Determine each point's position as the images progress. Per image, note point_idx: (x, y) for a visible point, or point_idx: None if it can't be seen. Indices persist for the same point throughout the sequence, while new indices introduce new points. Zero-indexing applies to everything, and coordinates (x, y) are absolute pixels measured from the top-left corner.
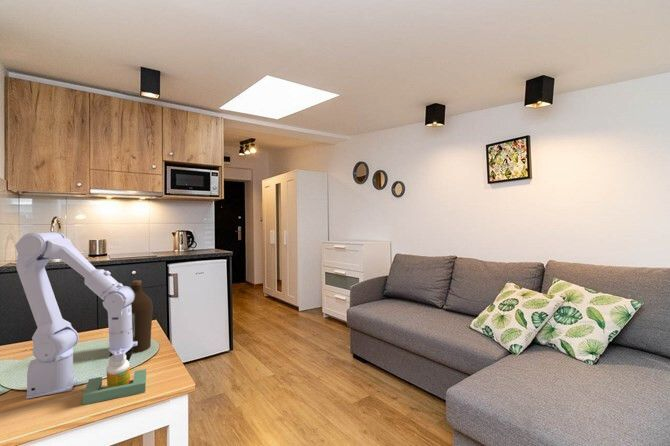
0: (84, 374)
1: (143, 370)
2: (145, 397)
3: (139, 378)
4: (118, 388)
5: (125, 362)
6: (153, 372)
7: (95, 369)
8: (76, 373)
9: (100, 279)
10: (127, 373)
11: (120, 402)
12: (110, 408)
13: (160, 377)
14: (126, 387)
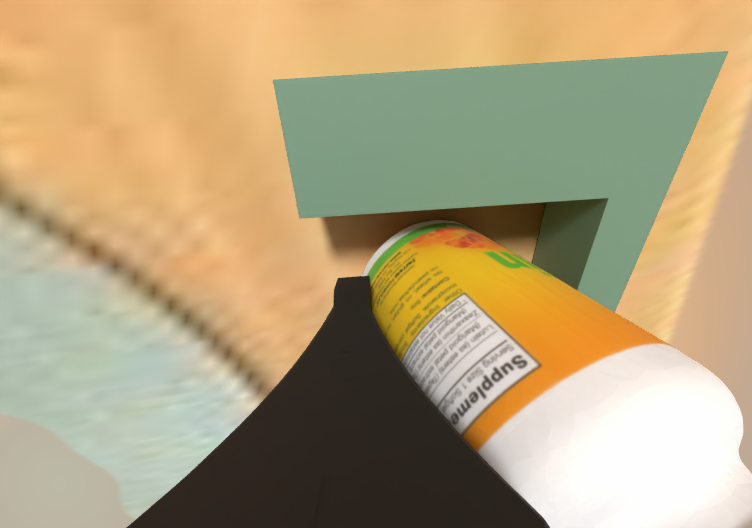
0: (171, 446)
1: (317, 115)
2: (737, 54)
3: (538, 142)
4: (621, 296)
5: (725, 478)
6: (185, 4)
7: (105, 423)
8: (155, 469)
9: None
10: (592, 299)
11: (650, 237)
12: (679, 277)
13: None
14: (638, 241)
